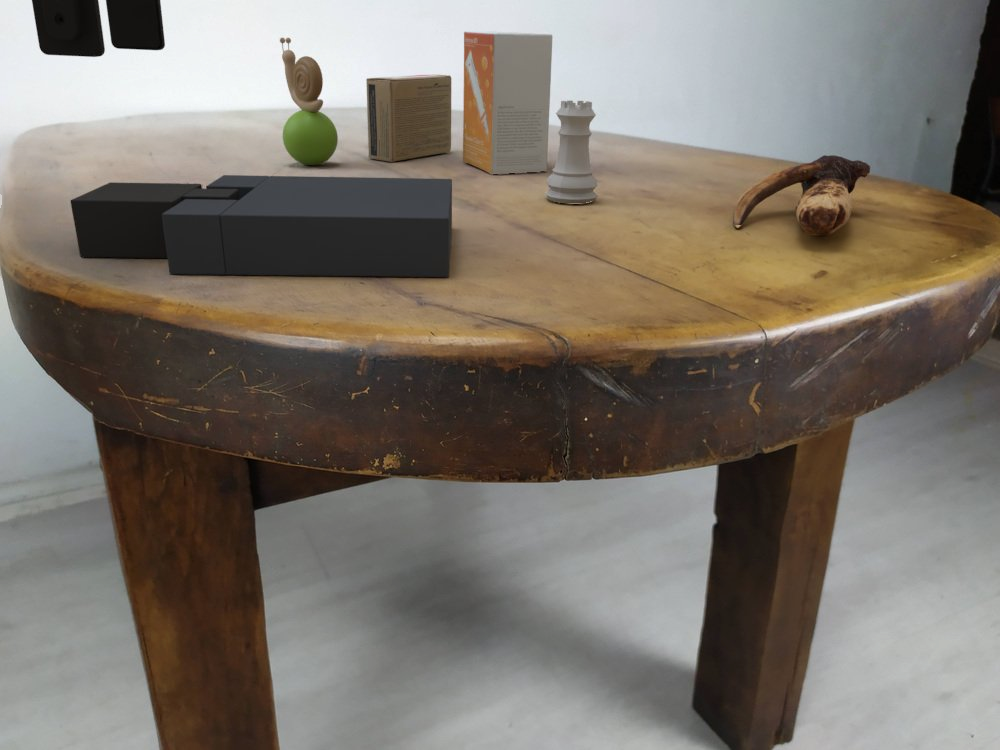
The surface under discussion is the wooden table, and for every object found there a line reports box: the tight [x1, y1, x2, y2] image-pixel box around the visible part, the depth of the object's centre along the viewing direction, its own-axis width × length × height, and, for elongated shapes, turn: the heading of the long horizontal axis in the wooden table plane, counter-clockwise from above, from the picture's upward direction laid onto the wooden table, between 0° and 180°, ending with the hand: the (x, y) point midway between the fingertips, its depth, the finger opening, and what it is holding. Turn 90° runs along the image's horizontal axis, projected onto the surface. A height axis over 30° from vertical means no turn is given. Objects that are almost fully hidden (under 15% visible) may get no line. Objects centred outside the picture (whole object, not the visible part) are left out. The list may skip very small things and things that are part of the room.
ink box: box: [365, 74, 452, 163], centre depth 91 cm, size 10×4×8 cm, turn 144°
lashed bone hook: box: [732, 154, 871, 237], centre depth 64 cm, size 9×5×18 cm
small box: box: [462, 31, 553, 176], centre depth 84 cm, size 8×6×13 cm
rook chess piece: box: [544, 100, 598, 204], centre depth 69 cm, size 4×4×8 cm
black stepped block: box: [69, 182, 239, 259], centre depth 53 cm, size 9×6×4 cm
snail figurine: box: [279, 37, 339, 166], centre depth 83 cm, size 5×6×12 cm
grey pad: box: [162, 174, 453, 278], centre depth 53 cm, size 16×13×4 cm
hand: (109, 51), depth 49 cm, fingers open, 9 cm apart
